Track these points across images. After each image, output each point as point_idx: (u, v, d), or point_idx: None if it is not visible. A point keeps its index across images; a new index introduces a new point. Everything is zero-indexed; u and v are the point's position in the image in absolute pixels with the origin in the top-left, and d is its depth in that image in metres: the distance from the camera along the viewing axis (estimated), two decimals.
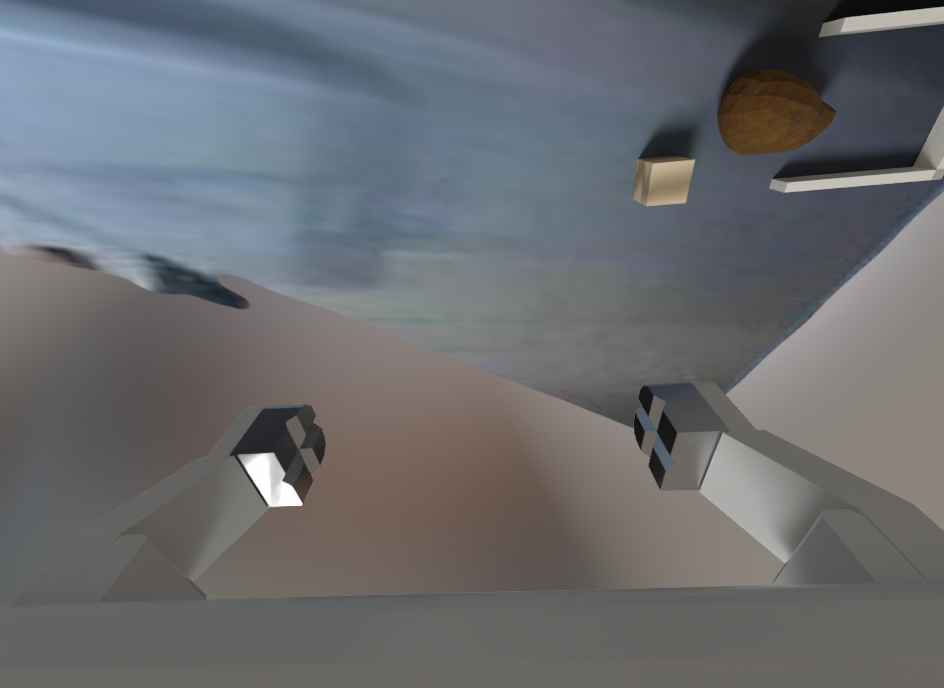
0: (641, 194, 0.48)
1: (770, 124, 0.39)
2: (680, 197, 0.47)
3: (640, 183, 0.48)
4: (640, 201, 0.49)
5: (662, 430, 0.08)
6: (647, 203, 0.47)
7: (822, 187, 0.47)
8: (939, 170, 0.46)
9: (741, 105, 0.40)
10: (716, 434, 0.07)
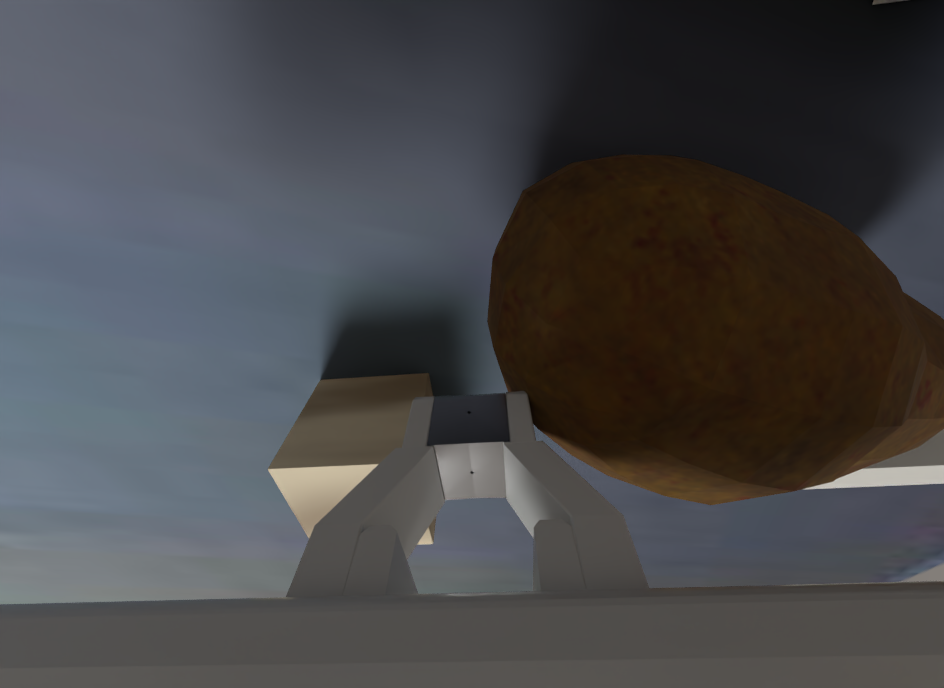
0: None
1: (645, 472, 0.07)
2: None
3: None
4: None
5: None
6: None
7: (867, 483, 0.15)
8: None
9: (516, 338, 0.08)
10: (500, 444, 0.07)
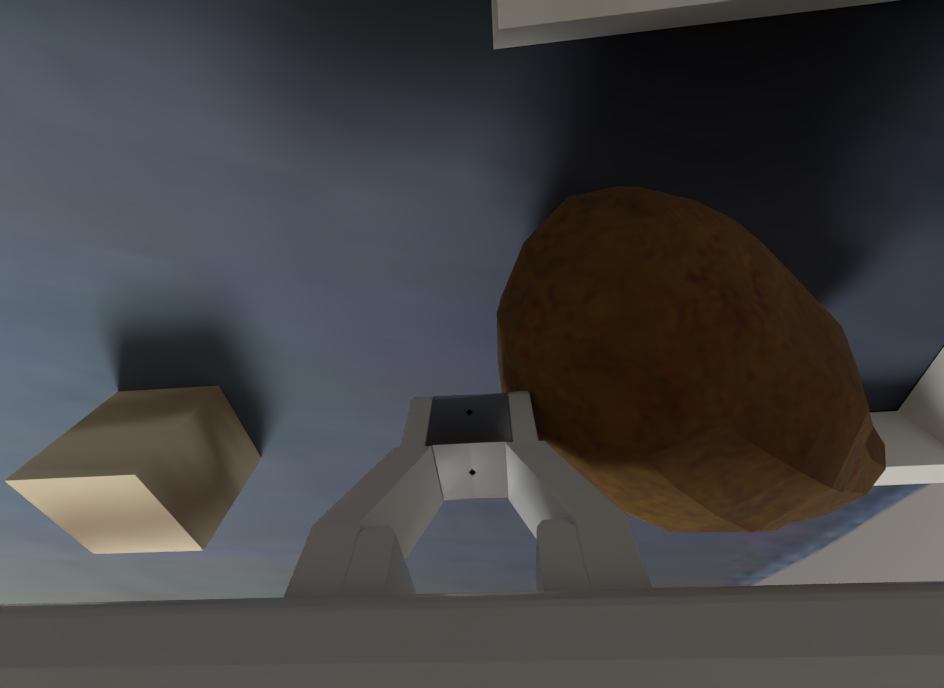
0: None
1: (630, 490, 0.08)
2: (177, 541, 0.15)
3: None
4: None
5: None
6: (91, 549, 0.16)
7: None
8: None
9: (538, 336, 0.08)
10: (503, 444, 0.07)
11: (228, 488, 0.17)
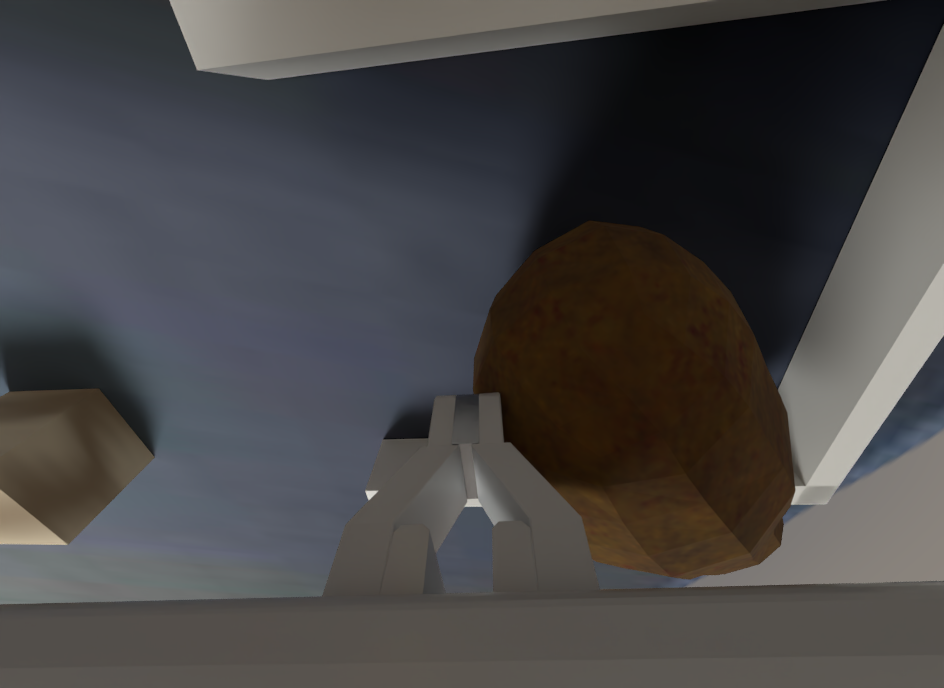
0: None
1: None
2: (41, 535, 0.16)
3: None
4: None
5: None
6: None
7: (472, 503, 0.16)
8: (814, 488, 0.14)
9: (532, 343, 0.08)
10: (469, 446, 0.07)
11: (106, 486, 0.18)
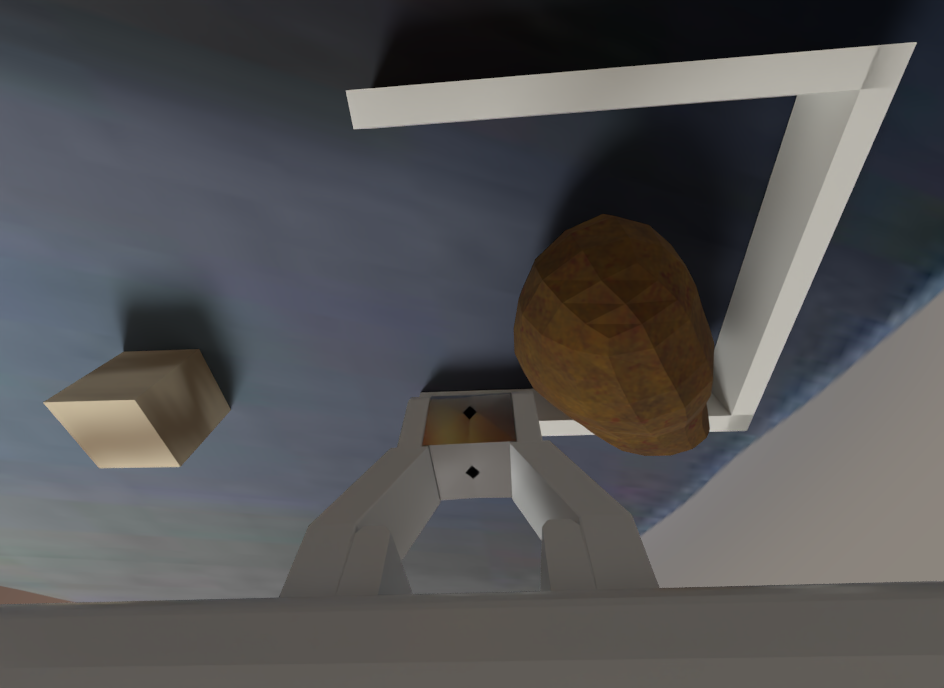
0: None
1: (589, 380, 0.13)
2: (161, 458, 0.21)
3: None
4: None
5: None
6: (98, 464, 0.21)
7: None
8: (737, 417, 0.20)
9: (569, 279, 0.13)
10: (507, 444, 0.07)
11: (202, 426, 0.23)
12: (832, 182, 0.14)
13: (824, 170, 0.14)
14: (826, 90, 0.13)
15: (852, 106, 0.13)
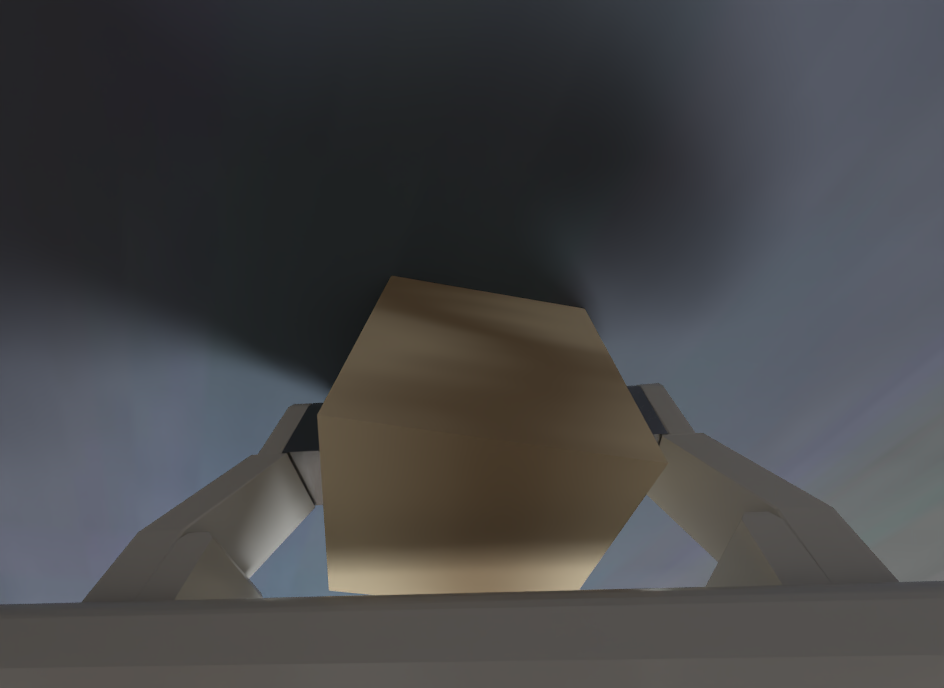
0: None
1: None
2: (601, 490, 0.06)
3: None
4: None
5: None
6: None
7: None
8: None
9: None
10: (656, 437, 0.07)
11: (577, 358, 0.07)
12: None
13: None
14: None
15: None
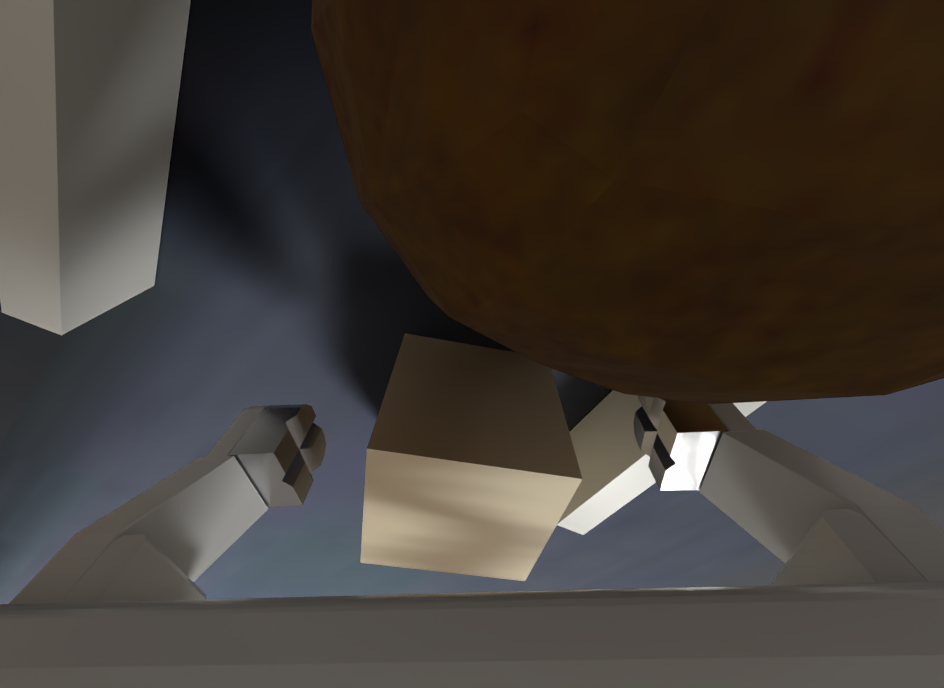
0: None
1: (678, 324, 0.03)
2: None
3: None
4: None
5: (662, 431, 0.08)
6: None
7: None
8: None
9: (349, 127, 0.04)
10: (716, 434, 0.07)
11: (521, 534, 0.10)
12: None
13: None
14: None
15: None
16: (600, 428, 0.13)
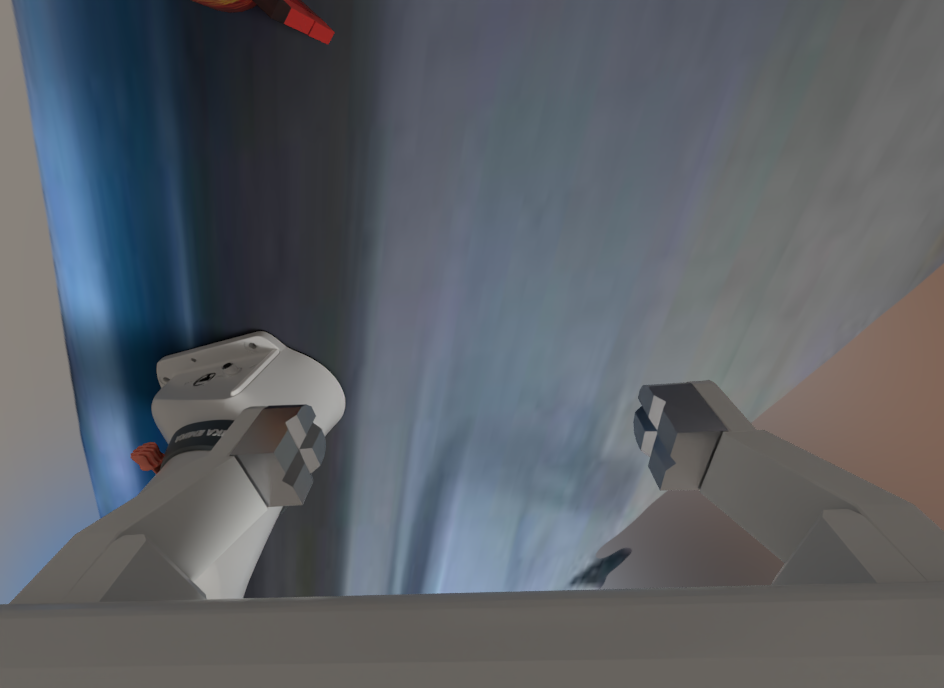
0: None
1: None
2: None
3: None
4: None
5: (662, 430, 0.08)
6: None
7: None
8: None
9: None
10: (716, 434, 0.07)
11: None
12: None
13: None
14: None
15: None
16: None
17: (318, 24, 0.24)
